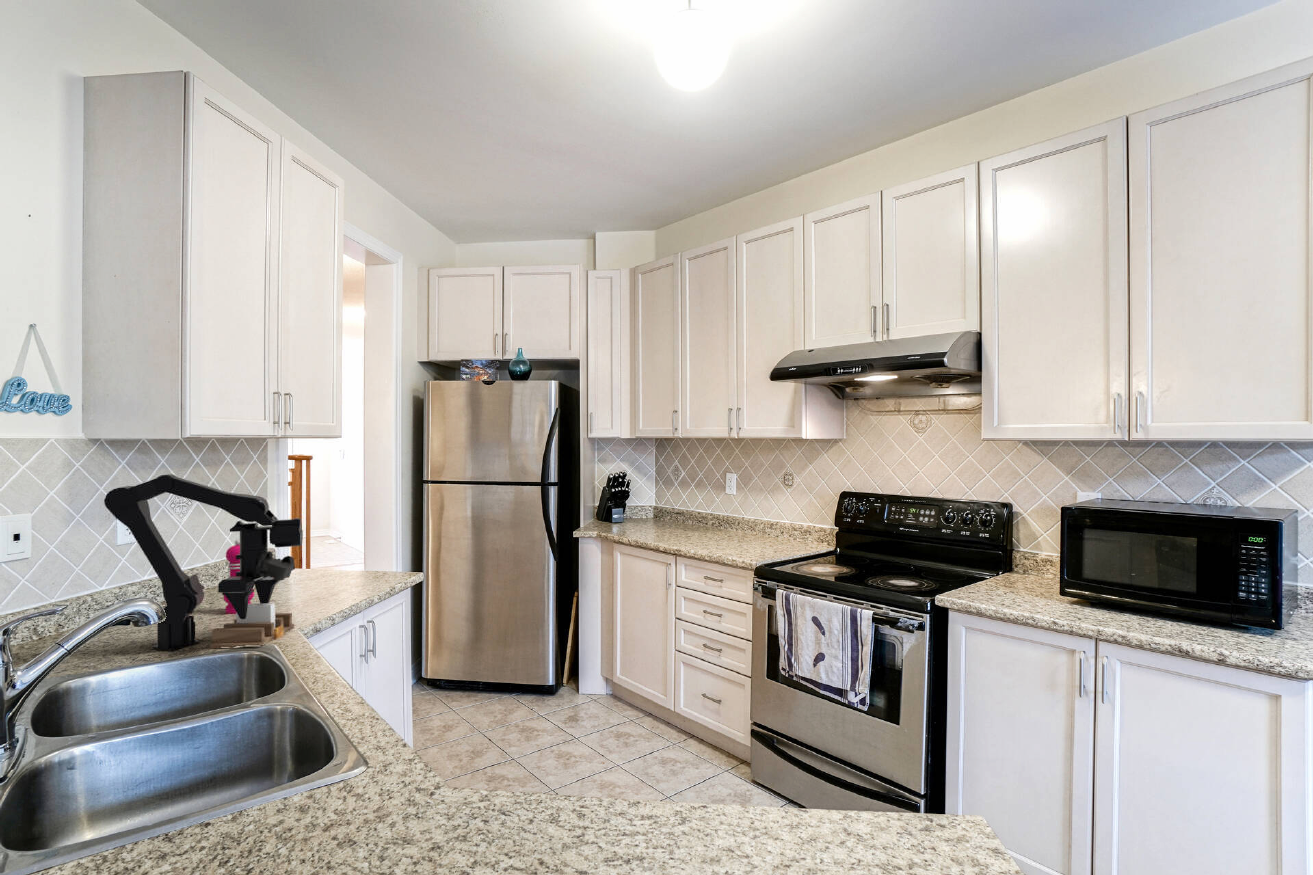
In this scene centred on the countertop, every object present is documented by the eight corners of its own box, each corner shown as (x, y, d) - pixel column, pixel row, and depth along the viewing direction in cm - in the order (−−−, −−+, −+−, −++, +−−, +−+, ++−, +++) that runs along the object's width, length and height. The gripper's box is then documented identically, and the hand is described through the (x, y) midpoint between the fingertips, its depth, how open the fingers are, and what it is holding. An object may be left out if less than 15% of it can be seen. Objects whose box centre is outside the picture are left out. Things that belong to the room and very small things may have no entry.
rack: (261, 647, 150) (261, 630, 150) (209, 648, 150) (209, 631, 150) (296, 627, 166) (296, 611, 166) (249, 628, 166) (249, 612, 166)
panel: (270, 634, 157) (270, 605, 157) (236, 635, 157) (236, 605, 157) (275, 631, 159) (275, 603, 159) (241, 632, 159) (241, 603, 159)
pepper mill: (260, 607, 186) (259, 537, 186) (241, 614, 179) (241, 541, 179) (236, 607, 187) (236, 537, 187) (217, 614, 180) (216, 541, 180)
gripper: (267, 555, 149) (267, 623, 149) (306, 542, 168) (307, 603, 168) (216, 556, 149) (217, 624, 149) (262, 542, 167) (262, 604, 167)
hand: (254, 613), depth 158 cm, fingers open, 9 cm apart
